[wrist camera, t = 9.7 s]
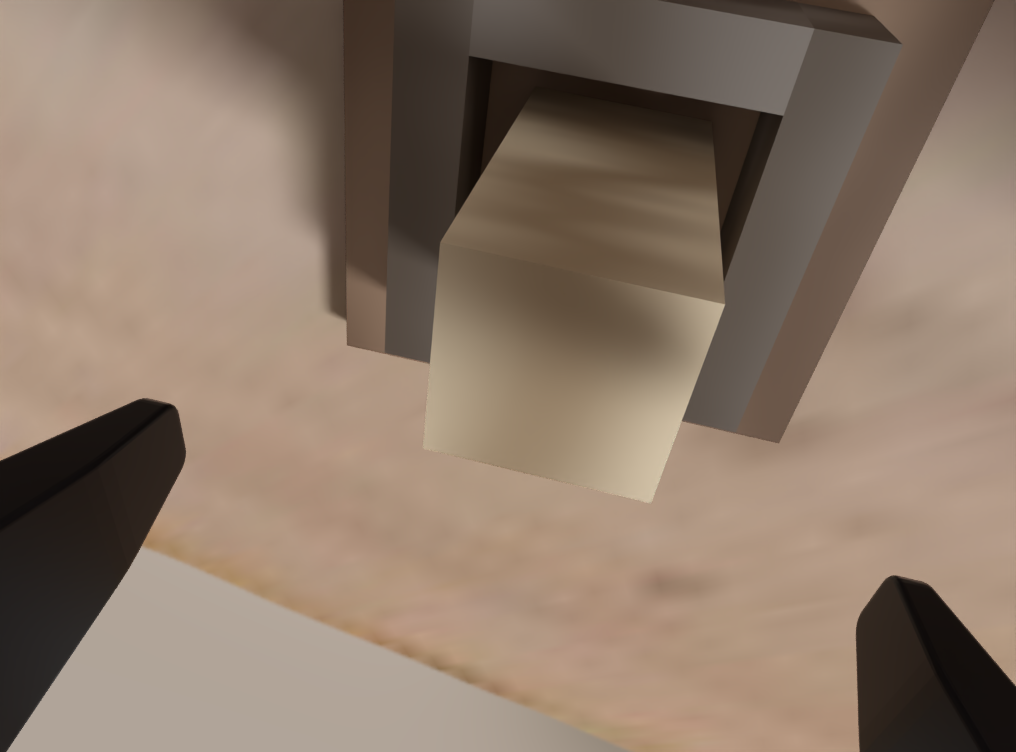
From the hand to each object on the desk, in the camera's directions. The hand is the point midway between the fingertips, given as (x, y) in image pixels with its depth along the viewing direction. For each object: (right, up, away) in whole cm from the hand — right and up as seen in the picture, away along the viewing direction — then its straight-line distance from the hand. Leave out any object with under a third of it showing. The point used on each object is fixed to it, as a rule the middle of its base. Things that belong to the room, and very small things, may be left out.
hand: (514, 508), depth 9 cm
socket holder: (+2, +7, +9) cm, 12 cm away
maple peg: (+2, +6, +8) cm, 11 cm away
